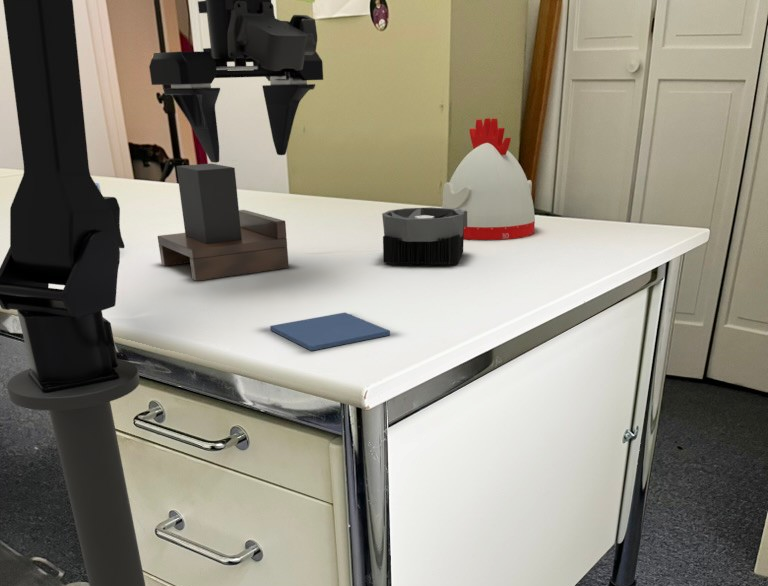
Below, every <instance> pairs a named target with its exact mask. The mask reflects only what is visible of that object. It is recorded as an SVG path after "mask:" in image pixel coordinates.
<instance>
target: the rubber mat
mask: <svg viewBox="0 0 768 586" xmlns="http://www.w3.org/2000/svg"><path fill="white" fill-rule="evenodd" d="M269 328H270V329H269V330H270V331H272V332H273V333H276V334H277V335H279V336H281V337H283V338H285V339H288V340H289V341H291V342H293V343H295V344H297V345H298V346H301V347H303V348H304V349H307V350H309V351H310V352H311V351H317V350H321V349H329V348H332V347H338V346H342V345H346V344H347V345H348V344H352V343H357V342H362V341H367V340H372V339H376V338H381V337H387V336H391V330H389V329H387V328H384V327H381V326H379V325H377V324H375V323H373V322H370V321H367V320H364V319H362V318H360V317H358V316H355V315H352V314H350V313H347V312H340V313H334V314H329V315H323V316H319V317H312V318H311V317H310V318H306V319H301V320H296V321H289V322H283V323H279V324H274V325H270V326H269Z"/></svg>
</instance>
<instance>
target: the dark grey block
mask: <svg viewBox="0 0 768 586" xmlns="http://www.w3.org/2000/svg"><path fill="white" fill-rule="evenodd" d="M235 168H236V167H233V166H227V165H222V164H216V163H200V164H199V163H198V164H189V165H188V164H187V165H176V172H177V173H176V174H177V182H178V189H179V196H180V203H181V212H182V220H183V226H184V233H185V235H186V236H187V237H190V238H193V239H195V240H198V241H200V242H203V243H206V244H210V243H218V242H227V241H235V240H242V237H241V227H240V217H239V210H240V207H239V197H238V187H237V177H236V169H235Z"/></svg>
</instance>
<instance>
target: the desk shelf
mask: <svg viewBox="0 0 768 586" xmlns="http://www.w3.org/2000/svg"><path fill="white" fill-rule="evenodd" d="M239 217H240V227H241V237H242V240H235V241H227V242H218V243H210V244H206V243H203V242H200V241H198V240H195V239H193V238H190V237H187V236H186V235H185V232H179V233H169V234H162V235H157V242H158V250H159V257H160V264H161V265H162V266H164V267H168V266H176V265H183V264H189V263H190V270H191V277H192V278H191V279H192V280H193V281H195V282H200V281H205V280H207V281H208V280H213V279H219V278H227V277H234V276H240V275H247V274H255V273H263V272H269V271H276V270H282V269H283V270H284V269H289V267H290V266H289V253H288V238H287V224H286V220H285V219H280V218H276V217H273V216H268V215H266V214H261V213H258V212H254V211H250V210H247V209H239Z"/></svg>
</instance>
